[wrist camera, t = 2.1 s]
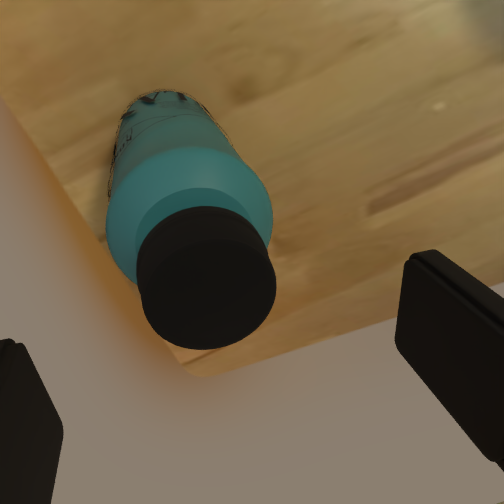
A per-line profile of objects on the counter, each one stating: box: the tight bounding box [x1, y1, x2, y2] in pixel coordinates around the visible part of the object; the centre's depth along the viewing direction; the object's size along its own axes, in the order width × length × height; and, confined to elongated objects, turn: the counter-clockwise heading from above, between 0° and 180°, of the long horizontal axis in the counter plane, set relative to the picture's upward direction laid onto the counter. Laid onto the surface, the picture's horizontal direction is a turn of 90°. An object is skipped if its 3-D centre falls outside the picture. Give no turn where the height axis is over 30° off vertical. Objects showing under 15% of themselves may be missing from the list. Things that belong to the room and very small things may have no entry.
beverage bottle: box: [106, 90, 276, 350], centre depth 19 cm, size 6×7×20 cm
